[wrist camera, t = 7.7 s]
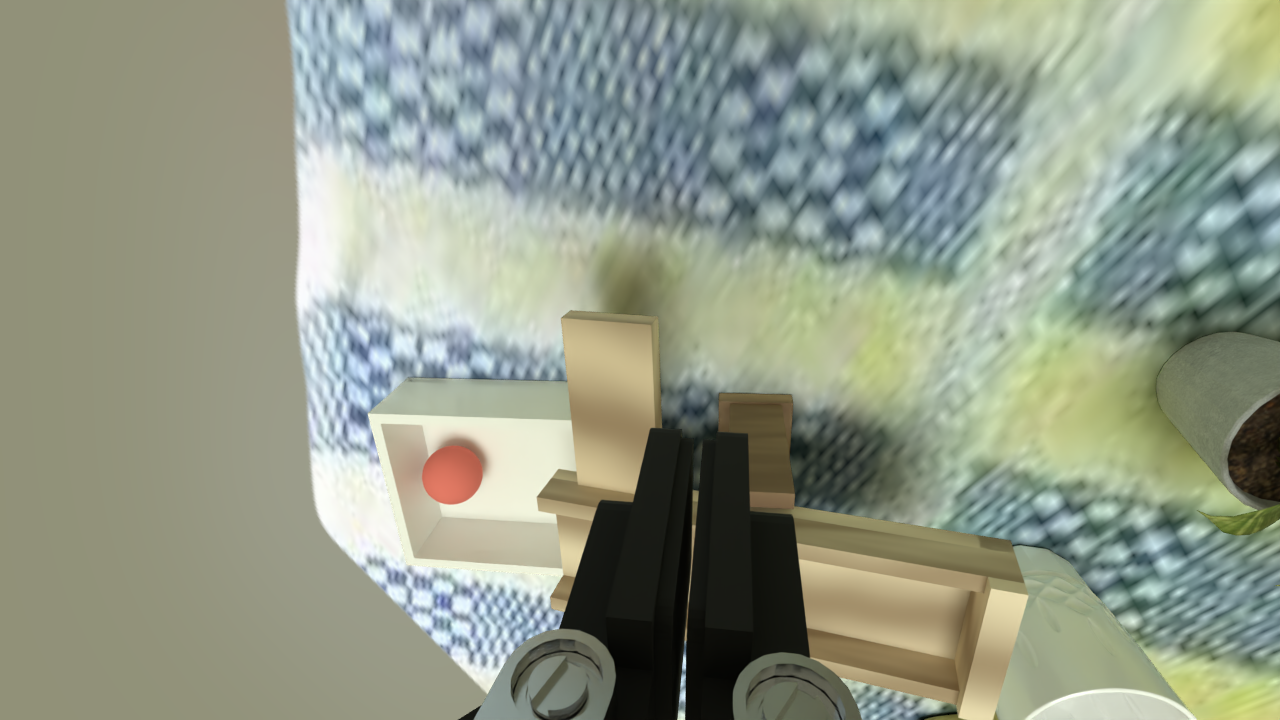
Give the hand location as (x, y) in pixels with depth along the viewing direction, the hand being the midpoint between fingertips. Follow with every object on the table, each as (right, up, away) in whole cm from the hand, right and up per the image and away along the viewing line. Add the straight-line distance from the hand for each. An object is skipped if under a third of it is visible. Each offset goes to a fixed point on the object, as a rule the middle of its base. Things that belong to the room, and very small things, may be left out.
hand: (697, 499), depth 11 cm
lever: (+5, -3, +18) cm, 18 cm away
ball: (-12, -5, +26) cm, 29 cm away
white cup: (+22, -11, +26) cm, 36 cm away
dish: (-9, -4, +27) cm, 29 cm away
